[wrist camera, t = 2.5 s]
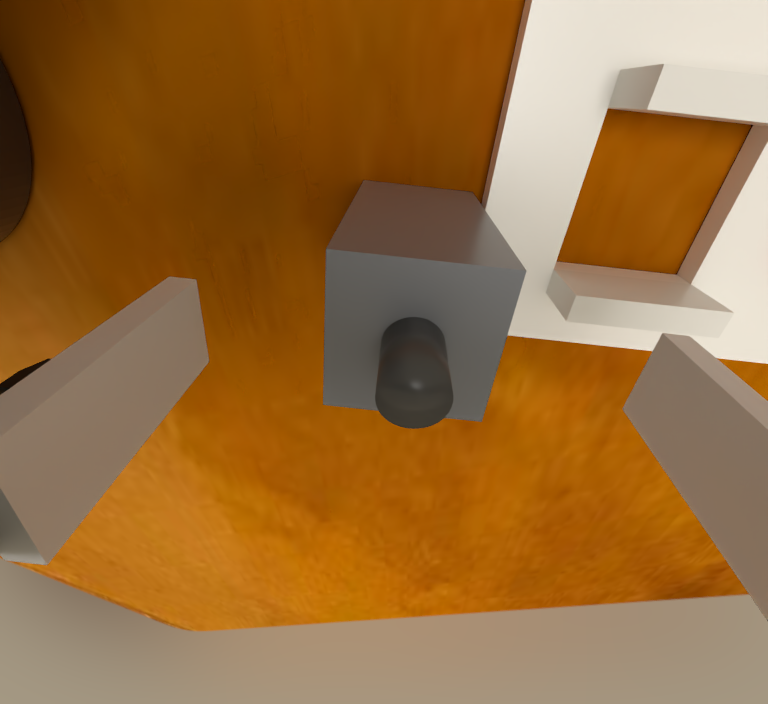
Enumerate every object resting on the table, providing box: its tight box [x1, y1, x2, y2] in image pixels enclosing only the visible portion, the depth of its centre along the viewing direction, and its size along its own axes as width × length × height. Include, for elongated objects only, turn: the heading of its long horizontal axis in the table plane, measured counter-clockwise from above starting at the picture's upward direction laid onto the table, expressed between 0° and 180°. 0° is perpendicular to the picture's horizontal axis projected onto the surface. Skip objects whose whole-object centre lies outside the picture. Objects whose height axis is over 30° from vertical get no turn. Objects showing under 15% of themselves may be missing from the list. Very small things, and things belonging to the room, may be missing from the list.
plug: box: [323, 180, 526, 429], centre depth 15 cm, size 5×5×12 cm
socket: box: [481, 0, 768, 364], centre depth 16 cm, size 18×14×4 cm
